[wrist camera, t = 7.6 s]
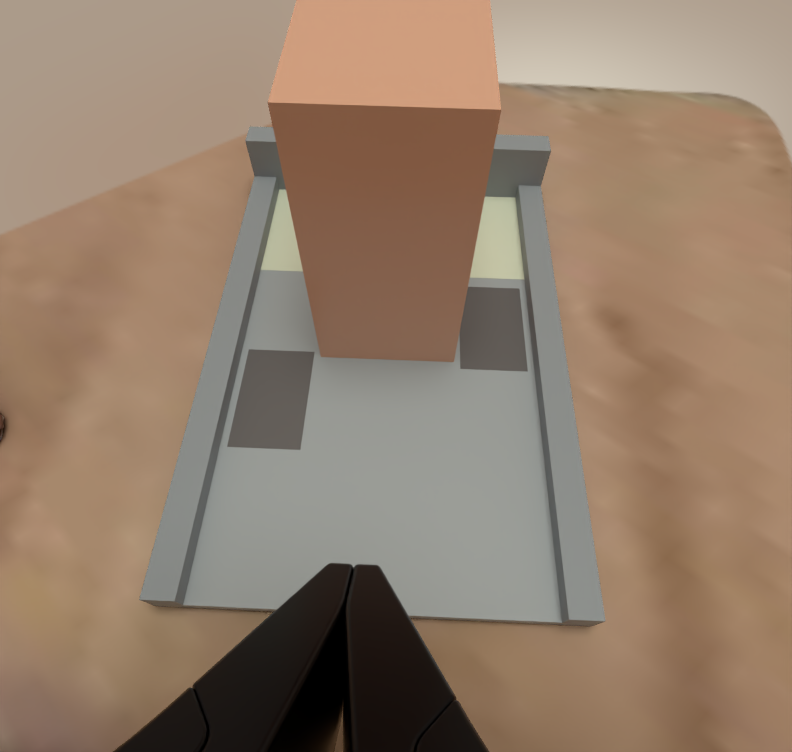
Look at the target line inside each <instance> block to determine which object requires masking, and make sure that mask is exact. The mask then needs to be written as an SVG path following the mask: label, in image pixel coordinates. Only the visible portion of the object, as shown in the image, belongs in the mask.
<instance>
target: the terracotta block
mask: <svg viewBox="0 0 792 752" xmlns="http://www.w3.org/2000/svg"><path fill="white" fill-rule="evenodd" d="M268 105H269V111H270V115H271V120H272V125H273V130H274V135H275V140H276V144H277V149H278V154H279V159H280V163H281V168H282V173H283V178H284V183H285V187H286V192H287V197H288V202H289V207H290V211H291V216H292V221H293V226H294V231H295V235H296V240H297V245H298V250H299V255H300V259H301V264H302V269H303V274H304V279H305V283H306V288H307V293H308V298H309V303H310V307H311V312H312V317H313V322H314V327H315V331H316V336H317V341H318V346H319V350H320V355H321V357H333V358H359V359H385V360H411V361H437V362H454V359H455V353H456V348H457V343H458V337H459V332H460V327H461V321H462V316H463V311H464V305H465V300H466V295H467V289H468V284H469V279H470V273H471V268H472V263H473V257H474V252H475V246H476V241H477V236H478V230H479V225H480V220H481V214H482V209H483V204H484V198H485V193H486V188H487V182H488V177H489V172H490V166H491V161H492V156H493V150H494V145H495V140H496V134H497V129H498V123H499V118H500V113H501V104H500V94H499V85H498V75H497V65H496V56H495V46H494V36H493V26H492V16H491V8H490V0H296V4H295V7H294V11H293V14H292V18H291V22H290V25H289V29H288V32H287V36H286V40H285V43H284V46H283V50H282V54H281V57H280V61H279V64H278V68H277V72H276V75H275V78H274V82H273V86H272V89H271V93H270V96H269V100H268Z"/></svg>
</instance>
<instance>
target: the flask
mask: <svg viewBox="0 0 792 752" xmlns="http://www.w3.org/2000/svg"><path fill="white" fill-rule="evenodd" d="M3 420H4V416H3V415H1V414H0V429H1V432H0V440H1V439H2V434H3V433H2V432H3V430H2V429H3V427H4V424H3Z"/></svg>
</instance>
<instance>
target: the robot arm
mask: <svg viewBox="0 0 792 752" xmlns="http://www.w3.org/2000/svg"><path fill="white" fill-rule="evenodd" d="M342 710H343V752H489V751H488V749H487V747H486V746H485V744H484V743H483V741H482V740H481V738H480V736H479V735H478V733H477V732H476V730H475V728H474V727H473V725H472V724H471V722H470V720H469V719H468V717H467V715H466V713H465V712H464V710H463V708H462V706H461V705H460V703H459V702H458V701H457V700H456V697H455V695H454V693H453V691H452V690H451V688H450V686H449V685H448V683H447V681H446V679H445V678H444V676H443V674H442V672H441V671H440V669H439V667H438V666H437V664H436V662H435V660H434V659H433V657H432V655H431V654H430V652H429V650H428V648H427V647H426V645H425V643H424V641H423V640H422V638H421V636H420V635H419V633H418V631H417V629H416V628H415V626H414V624H413V623H412V621H411V619H410V617H409V616H408V614H407V612H406V610H405V609H404V607H403V605H402V604H401V602H400V600H399V598H398V597H397V595H396V593H395V592H394V590H393V588H392V586H391V585H390V583H389V581H388V579H387V578H386V576H385V574H384V573H383V571H382V569H381V568H380V566H378V565H371V564H357V565H355V567H353V565H351V564H347V563H329V564H327V565H326V566H325V567H324V568H323V569H321V570H320V571H319V572H318V573H317V574H316V575H315V576H314V577H312V578H311V579H310V580H309V581H308V582H307V583H306V584H305V585H304V586H302V587H301V588H300V589H299V590H298V591H297V592H296V593H295V594H293V595H292V596H291V597H290V598H289V599H288V600H287V601H286V602H285V603H283V604H282V605H281V606H280V607H279V608H278V609H277V610H276V611H274V612H273V613H272V614H271V615H270V616H269V617H268V618H267V619H265V620H264V621H263V622H262V623H261V624H260V625H259V626H258V627H257V628H255V629H254V630H253V631H252V632H251V633H250V634H249V635H248V636H246V637H245V638H244V639H243V640H242V641H241V642H240V643H239V644H238V645H236V646H235V647H234V648H233V649H232V650H231V651H230V652H229V653H227V654H226V655H225V656H224V657H223V658H222V659H221V660H220V661H219V662H217V663H216V664H215V665H214V666H213V667H212V668H211V669H210V670H208V671H207V672H206V673H205V674H204V675H203V676H202V677H201V678H200V679H198V680H197V681H196V682H195V683H194V684H193V687H192V688H188V689H187V690H186V691H185V692H184V693H182V694H181V695H180V696H179V697H178V698H177V699H176V700H175V701H174V702H172V703H171V704H170V705H169V706H168V707H167V708H166V709H164V710H163V711H162V712H161V713H160V714H158V715H157V716H156V717H155V718H154V719H153V720H151V721H150V722H149V723H148V724H147V725H146V726H144V727H143V728H142V729H141V730H140V731H138V732H137V733H136V734H135V735H134V736H132V737H131V738H130V739H128V740H127V741H126V742H125V743H123V744H122V745H121V746H119V747H118V748H117V749H116V750H114V751H113V752H334V749H335V745H336V740H337V736H338V732H339V727H340V722H341V717H342Z"/></svg>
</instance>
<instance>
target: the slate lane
mask: <svg viewBox="0 0 792 752" xmlns="http://www.w3.org/2000/svg"><path fill="white" fill-rule="evenodd" d="M246 145H247V149H248V153H249V156H250V160H251V164H252V168H253V172H254V175H255V177H254V181H253V184H252V188H251V192H250V195H249V199H248V203H247V206H246V210H245V214H244V217H243V221H242V225H241V228H240V232H239V236H238V239H237V243H236V247H235V250H234V254H233V258H232V261H231V265H230V269H229V272H228V276H227V280H226V283H225V287H224V291H223V294H222V298H221V302H220V305H219V309H218V313H217V316H216V320H215V324H214V327H213V331H212V335H211V338H210V342H209V346H208V349H207V353H206V357H205V360H204V364H203V368H202V371H201V375H200V379H199V382H198V386H197V390H196V393H195V397H194V401H193V404H192V408H191V412H190V415H189V419H188V423H187V426H186V430H185V434H184V437H183V441H182V445H181V448H180V452H179V456H178V459H177V463H176V467H175V470H174V474H173V478H172V481H171V485H170V489H169V492H168V496H167V500H166V503H165V507H164V511H163V514H162V518H161V522H160V525H159V529H158V533H157V536H156V540H155V544H154V547H153V551H152V555H151V558H150V562H149V566H148V569H147V573H146V577H145V580H144V584H143V588H142V591H141V595H140V599H139V600H141V601H144V602H147V603H149V604H152V605H154V606H167V607H188V608H210V609H231V610H252V611H276V610H277V609H278V608H279V607H280V606H281V605H282V604H283V603H285V602H286V601H287V600H288V599H289V598H290V597H291V596H292V595H293V594H295V593H296V592H297V591H298V590H299V589H300V588H301V587H302V586H304V585H305V584H306V583H307V582H308V581H309V580H310V579H311V578H312V577H314V576H315V575H316V574H317V573H318V572H319V571H320V570H321V569H323V568H324V567H325V566H326V565H327V564H329V563H347V564H351V565H353V567H355V565H357V564H371V565H378V566H380V568H381V569H382V571H383V573H384V574H385V576H386V578H387V579H388V581H389V583H390V585H391V586H392V588H393V590H394V592H395V593H396V595H397V597H398V598H399V600H400V602H401V604H402V605H403V607H404V609H405V610H406V612H407V614H408V616H409V617H410V618H424V619H445V620H467V621H488V622H510V623H531V624H553V625H574V626H594V625H597V624H599V623H602V622H605V615H604V608H603V602H602V595H601V588H600V581H599V575H598V568H597V561H596V554H595V548H594V541H593V534H592V528H591V521H590V514H589V507H588V501H587V494H586V487H585V481H584V474H583V467H582V460H581V454H580V447H579V440H578V433H577V427H576V420H575V413H574V407H573V400H572V393H571V386H570V380H569V373H568V366H567V360H566V353H565V346H564V339H563V333H562V326H561V319H560V312H559V306H558V299H557V292H556V286H555V279H554V272H553V265H552V259H551V252H550V245H549V239H548V232H547V225H546V218H545V212H544V205H543V198H542V191H541V183H542V180H543V176H544V173H545V170H546V166H547V163H548V159H549V156H550V152H551V149H550V143H549V137H548V136H524V135H496V140H495V145H494V150H493V156H492V161H491V166H490V172H489V177H488V182H487V188H486V193H485V198H484V204H483V209H482V214H481V220H480V225H479V230H478V236H477V241H476V246H475V252H474V257H473V263H472V268H471V273H470V279H469V284H468V289H467V295H466V300H465V305H464V311H463V316H462V321H461V327H460V332H459V337H458V343H457V348H456V353H455V359H454V362H437V361H411V360H385V359H359V358H333V357H321V355H320V350H319V346H318V341H317V336H316V331H315V327H314V322H313V317H312V312H311V307H310V303H309V298H308V293H307V288H306V283H305V279H304V274H303V269H302V264H301V259H300V255H299V250H298V245H297V240H296V235H295V231H294V226H293V221H292V216H291V211H290V207H289V202H288V197H287V192H286V187H285V183H284V178H283V173H282V168H281V163H280V159H279V154H278V149H277V144H276V140H275V135H274V130H273V127H249V131H248V134H247V137H246Z"/></svg>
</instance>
